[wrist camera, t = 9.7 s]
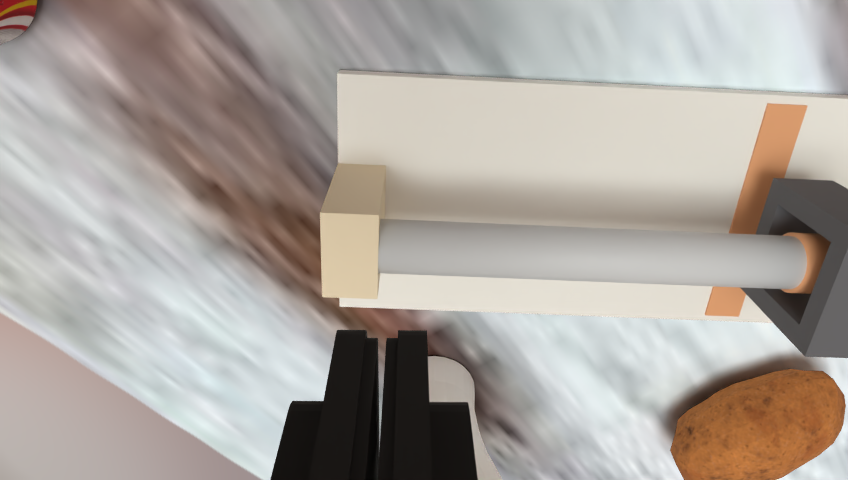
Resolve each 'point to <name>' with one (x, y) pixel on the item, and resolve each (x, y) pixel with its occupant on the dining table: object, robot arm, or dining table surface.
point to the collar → (838, 278)
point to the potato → (759, 427)
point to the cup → (458, 386)
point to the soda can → (15, 18)
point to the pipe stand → (570, 195)
